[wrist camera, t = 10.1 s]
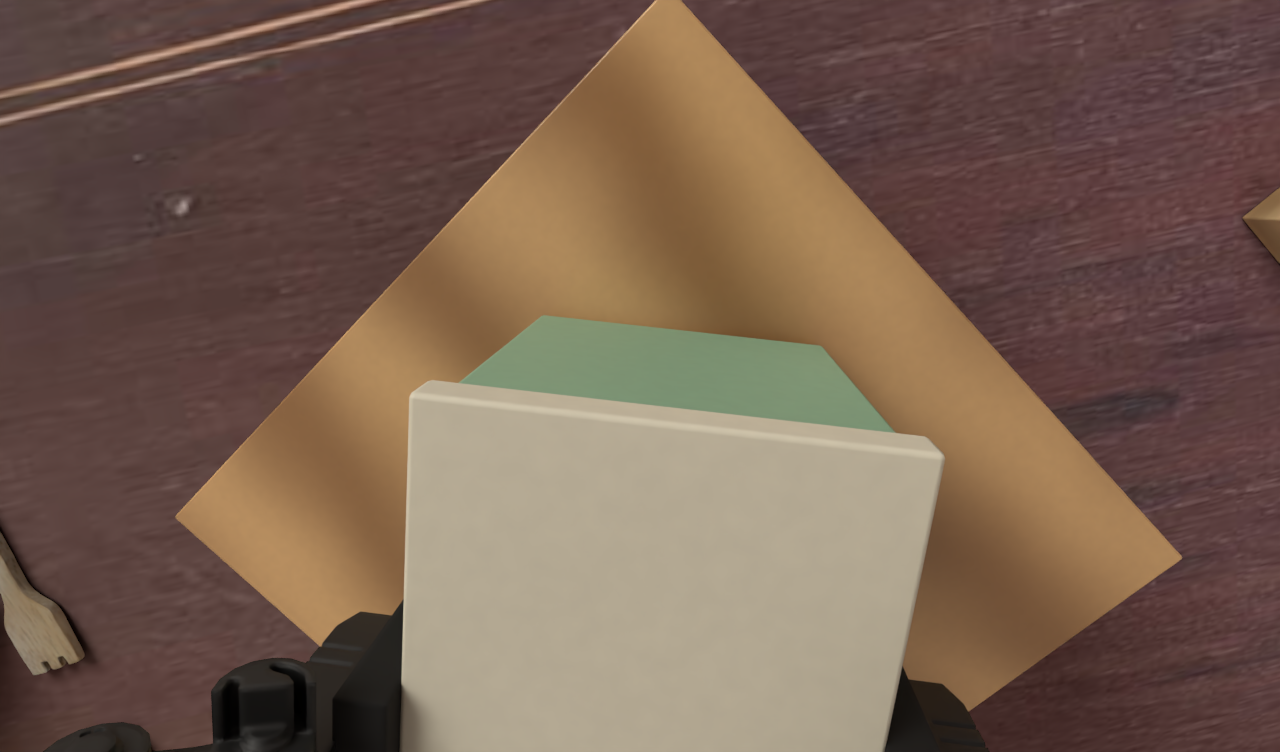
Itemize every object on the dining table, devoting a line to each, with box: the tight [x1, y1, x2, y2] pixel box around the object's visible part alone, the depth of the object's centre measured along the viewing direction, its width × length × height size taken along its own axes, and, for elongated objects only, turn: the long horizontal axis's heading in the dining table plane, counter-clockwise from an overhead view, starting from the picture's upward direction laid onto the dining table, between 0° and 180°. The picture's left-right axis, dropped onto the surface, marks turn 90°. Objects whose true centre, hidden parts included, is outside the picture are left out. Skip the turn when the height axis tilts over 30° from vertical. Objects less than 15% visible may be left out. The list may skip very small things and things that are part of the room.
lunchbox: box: [400, 315, 945, 752], centre depth 15 cm, size 11×7×8 cm, turn 174°
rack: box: [175, 0, 1182, 712], centre depth 26 cm, size 18×18×14 cm
